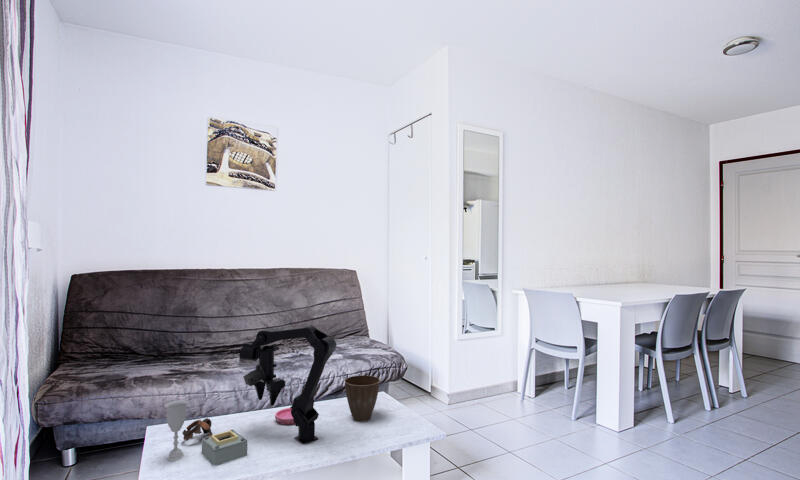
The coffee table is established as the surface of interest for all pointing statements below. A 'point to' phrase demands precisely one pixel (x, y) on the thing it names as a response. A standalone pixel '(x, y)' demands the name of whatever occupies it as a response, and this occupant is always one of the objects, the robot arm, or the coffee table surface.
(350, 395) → the plant pot
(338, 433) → the coffee table surface
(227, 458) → the grey box with opening
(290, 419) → the saucer
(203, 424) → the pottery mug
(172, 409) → the chalice
